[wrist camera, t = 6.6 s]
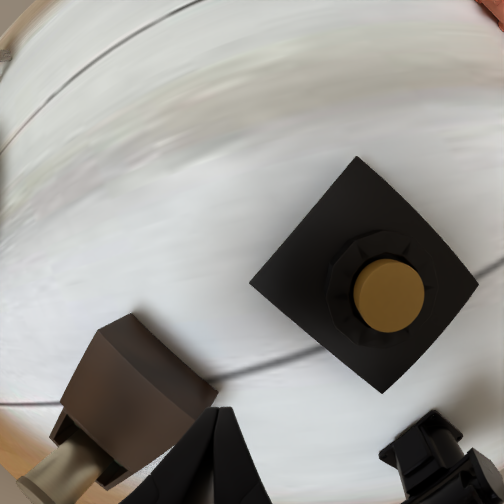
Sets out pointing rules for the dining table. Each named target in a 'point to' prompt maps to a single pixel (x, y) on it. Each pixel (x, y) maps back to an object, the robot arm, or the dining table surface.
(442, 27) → the dining table surface
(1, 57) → the tablet stand
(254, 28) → the dining table surface
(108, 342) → the stepped brown tray
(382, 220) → the yellow push button box
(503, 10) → the teapot
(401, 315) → the button
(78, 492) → the tin
